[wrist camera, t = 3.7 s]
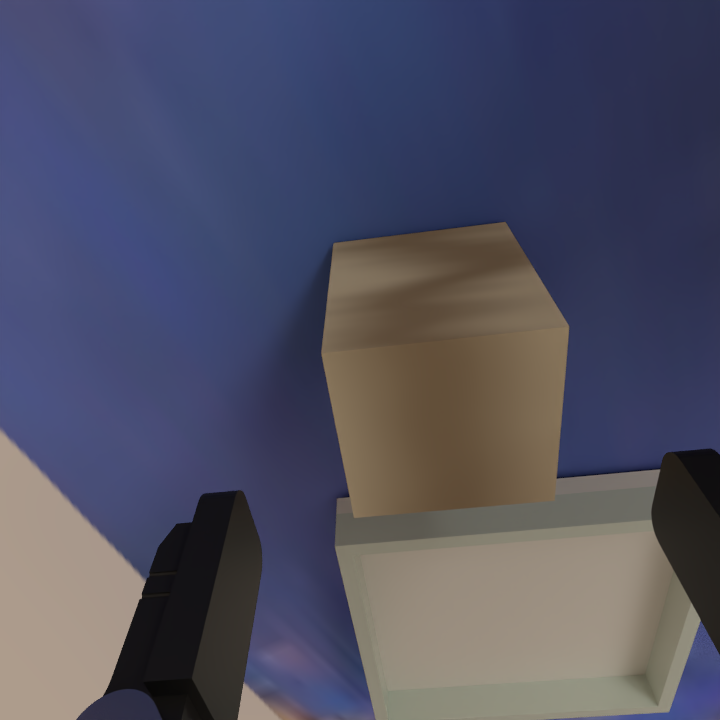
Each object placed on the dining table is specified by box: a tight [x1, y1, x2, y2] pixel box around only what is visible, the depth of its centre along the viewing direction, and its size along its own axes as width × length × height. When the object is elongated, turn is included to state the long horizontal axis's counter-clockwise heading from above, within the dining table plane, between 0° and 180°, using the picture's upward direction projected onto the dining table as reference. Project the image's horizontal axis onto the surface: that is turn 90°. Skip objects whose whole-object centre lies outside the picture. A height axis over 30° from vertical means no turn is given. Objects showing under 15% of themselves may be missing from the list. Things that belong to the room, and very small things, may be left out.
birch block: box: [321, 222, 569, 518], centre depth 15 cm, size 5×5×6 cm
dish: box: [335, 469, 701, 720], centre depth 25 cm, size 14×14×2 cm
